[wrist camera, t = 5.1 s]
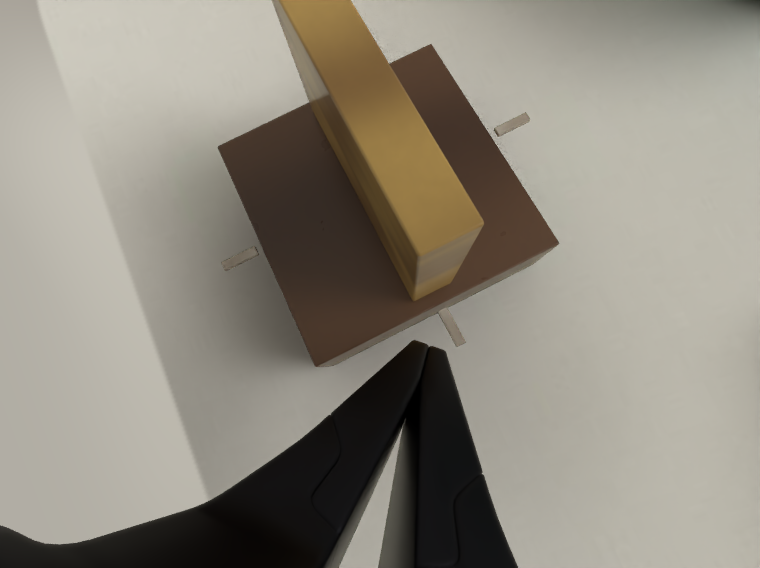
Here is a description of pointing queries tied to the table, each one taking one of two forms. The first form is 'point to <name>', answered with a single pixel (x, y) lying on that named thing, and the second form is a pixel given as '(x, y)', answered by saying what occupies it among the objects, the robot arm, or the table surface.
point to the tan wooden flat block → (381, 143)
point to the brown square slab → (354, 229)
